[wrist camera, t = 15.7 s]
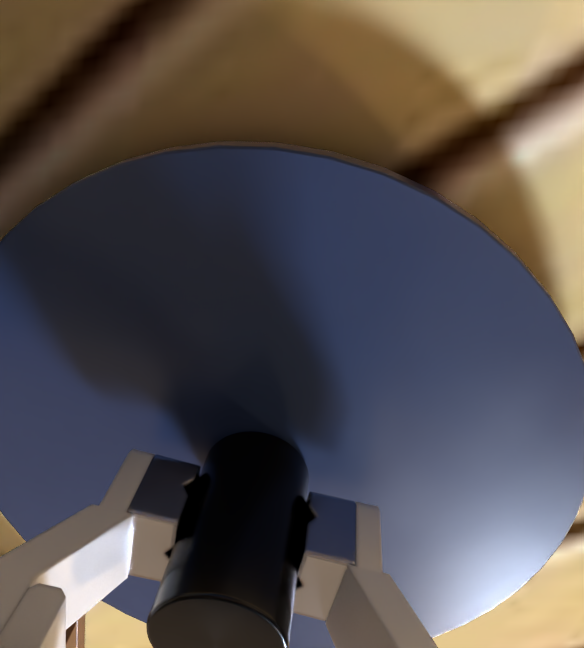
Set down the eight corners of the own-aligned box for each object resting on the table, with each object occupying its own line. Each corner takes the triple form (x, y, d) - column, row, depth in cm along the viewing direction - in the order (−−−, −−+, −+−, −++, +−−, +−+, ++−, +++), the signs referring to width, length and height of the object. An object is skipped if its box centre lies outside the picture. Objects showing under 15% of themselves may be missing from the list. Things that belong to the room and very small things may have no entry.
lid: (-1, 558, 17) (-131, 748, 12) (-50, 54, 10) (-388, 72, 5) (449, 665, 17) (480, 894, 12) (718, 234, 10) (1014, 401, 5)
